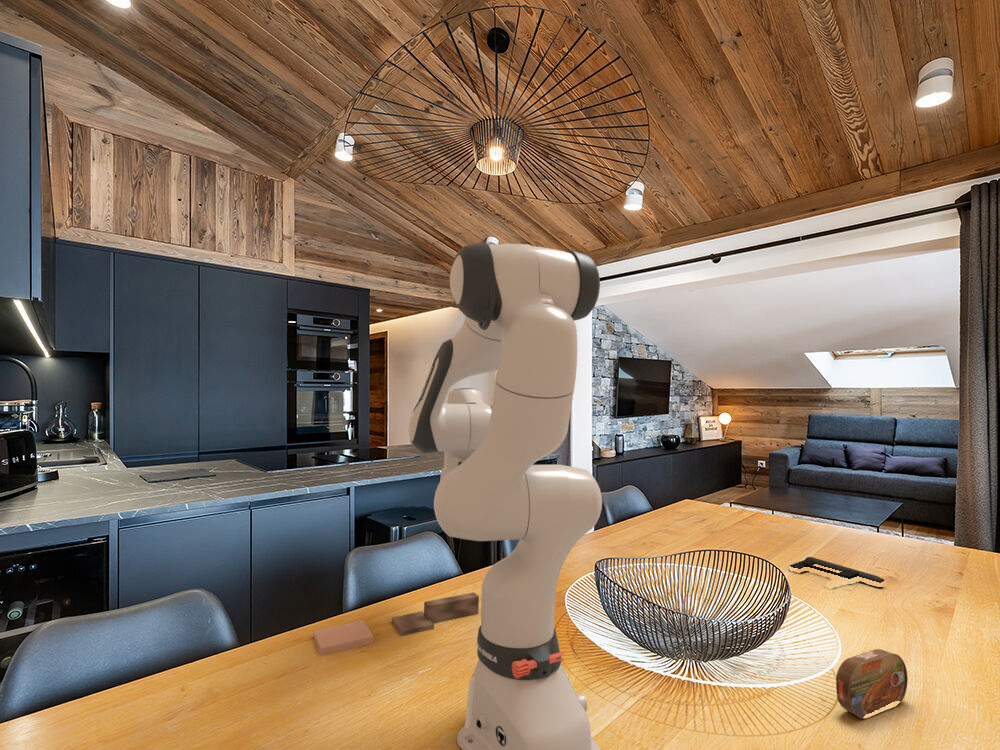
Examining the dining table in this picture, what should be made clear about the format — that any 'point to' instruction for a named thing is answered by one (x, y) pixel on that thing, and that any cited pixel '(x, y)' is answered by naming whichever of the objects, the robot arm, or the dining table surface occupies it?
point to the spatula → (437, 613)
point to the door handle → (845, 572)
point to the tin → (871, 681)
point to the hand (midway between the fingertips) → (463, 526)
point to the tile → (342, 637)
